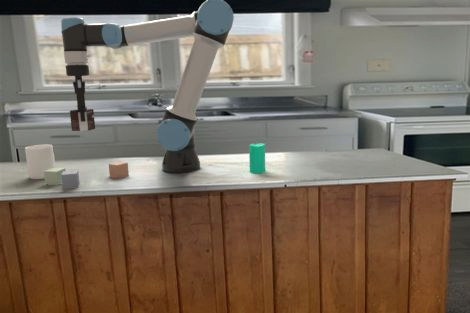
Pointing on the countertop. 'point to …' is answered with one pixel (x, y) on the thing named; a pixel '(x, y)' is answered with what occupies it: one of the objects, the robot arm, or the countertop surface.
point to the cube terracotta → (118, 169)
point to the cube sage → (53, 176)
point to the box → (75, 120)
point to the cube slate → (70, 179)
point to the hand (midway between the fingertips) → (83, 129)
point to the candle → (257, 158)
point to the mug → (39, 160)
